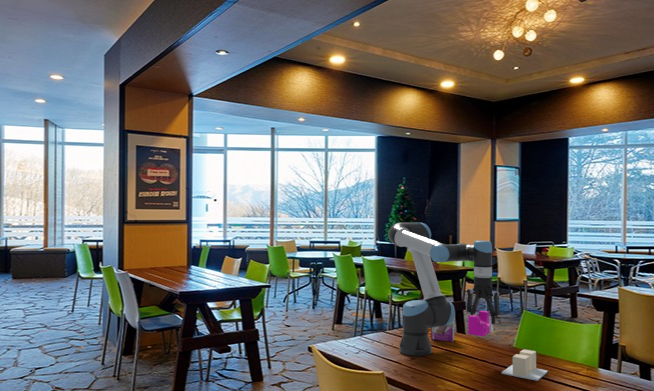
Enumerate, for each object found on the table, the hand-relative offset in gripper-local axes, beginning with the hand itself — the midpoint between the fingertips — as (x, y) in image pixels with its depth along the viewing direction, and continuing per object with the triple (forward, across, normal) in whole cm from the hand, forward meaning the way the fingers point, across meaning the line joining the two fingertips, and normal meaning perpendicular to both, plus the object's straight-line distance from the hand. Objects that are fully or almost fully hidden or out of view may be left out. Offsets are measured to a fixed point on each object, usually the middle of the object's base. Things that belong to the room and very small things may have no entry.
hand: (483, 330), depth 213 cm
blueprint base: (+15, +17, 0) cm, 23 cm away
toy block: (+1, 0, -2) cm, 2 cm away
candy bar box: (+15, -33, +29) cm, 46 cm away
